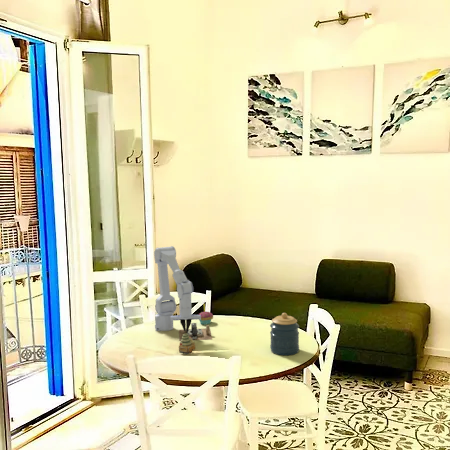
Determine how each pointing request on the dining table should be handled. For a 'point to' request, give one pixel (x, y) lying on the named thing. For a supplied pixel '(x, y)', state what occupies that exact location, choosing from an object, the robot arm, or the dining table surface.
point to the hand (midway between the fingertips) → (186, 334)
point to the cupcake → (206, 317)
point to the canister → (284, 335)
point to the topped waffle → (186, 344)
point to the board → (204, 337)
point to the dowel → (207, 330)
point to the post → (193, 325)
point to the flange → (195, 332)
